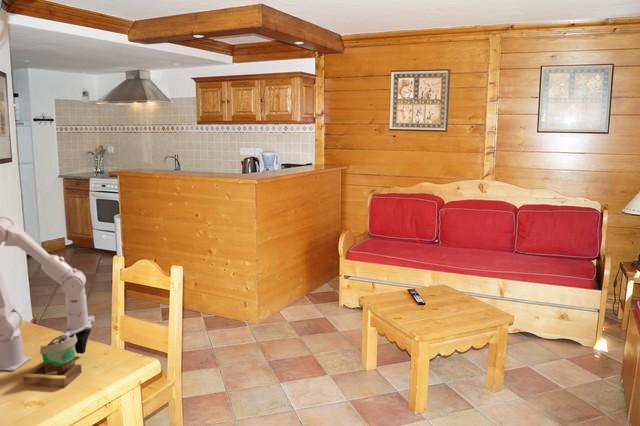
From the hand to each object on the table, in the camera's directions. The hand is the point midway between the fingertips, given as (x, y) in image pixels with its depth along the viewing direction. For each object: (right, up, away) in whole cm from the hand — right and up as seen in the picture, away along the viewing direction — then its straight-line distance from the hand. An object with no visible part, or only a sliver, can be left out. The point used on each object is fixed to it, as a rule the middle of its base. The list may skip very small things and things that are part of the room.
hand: (80, 352), depth 156 cm
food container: (0, -3, -8) cm, 9 cm away
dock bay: (-2, -4, -13) cm, 14 cm away
